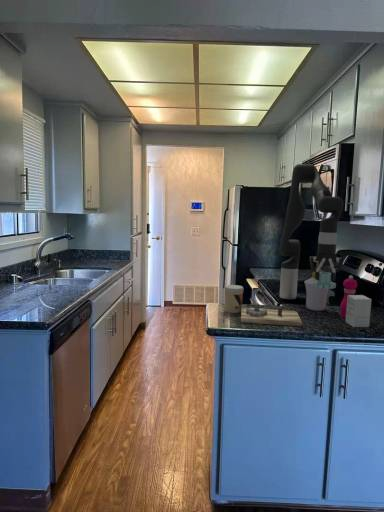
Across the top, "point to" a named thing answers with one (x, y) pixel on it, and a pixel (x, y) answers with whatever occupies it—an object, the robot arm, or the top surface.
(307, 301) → the soap bottle
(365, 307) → the supplement box
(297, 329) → the top surface
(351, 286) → the pepper mill
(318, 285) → the planet gear
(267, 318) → the carrier
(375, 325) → the top surface
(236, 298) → the coffee cup
